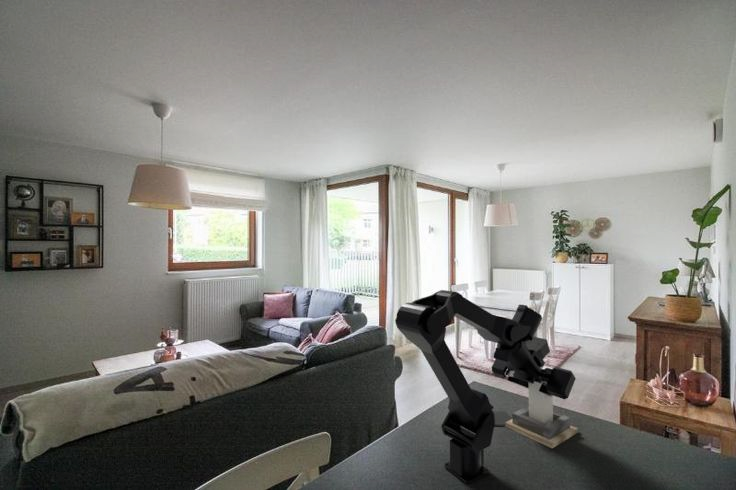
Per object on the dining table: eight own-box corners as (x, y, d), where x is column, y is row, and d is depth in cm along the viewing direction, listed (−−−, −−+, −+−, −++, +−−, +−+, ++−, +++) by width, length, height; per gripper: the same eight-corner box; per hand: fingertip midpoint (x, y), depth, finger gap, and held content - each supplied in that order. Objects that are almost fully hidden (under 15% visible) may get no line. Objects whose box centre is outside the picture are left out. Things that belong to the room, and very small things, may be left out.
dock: (552, 448, 80) (552, 432, 80) (505, 426, 90) (505, 412, 90) (577, 432, 86) (577, 418, 86) (531, 413, 96) (531, 400, 96)
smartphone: (452, 411, 97) (507, 410, 97) (452, 414, 97) (507, 414, 97) (458, 424, 90) (517, 424, 89) (458, 428, 90) (518, 427, 89)
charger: (544, 425, 85) (544, 370, 85) (528, 418, 88) (528, 366, 89) (553, 420, 87) (552, 367, 88) (537, 414, 91) (537, 363, 91)
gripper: (571, 336, 78) (594, 375, 84) (497, 321, 94) (522, 356, 100) (552, 379, 74) (578, 417, 80) (479, 356, 89) (505, 390, 95)
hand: (543, 392), depth 89 cm, fingers closed on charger, 4 cm apart
